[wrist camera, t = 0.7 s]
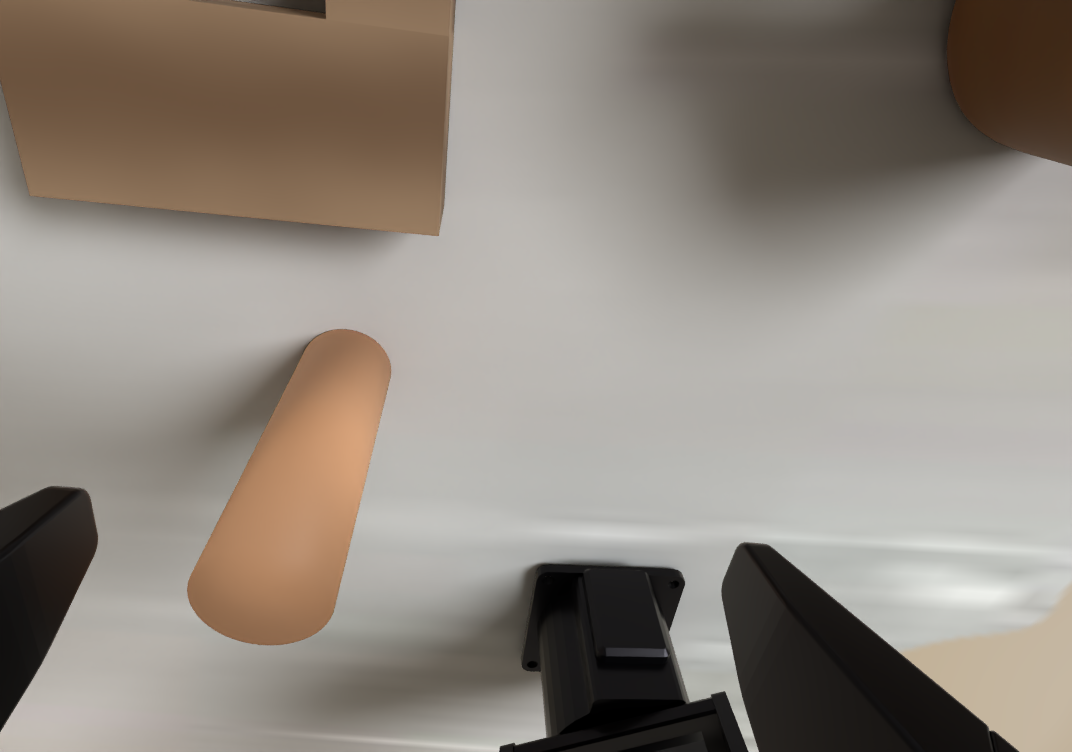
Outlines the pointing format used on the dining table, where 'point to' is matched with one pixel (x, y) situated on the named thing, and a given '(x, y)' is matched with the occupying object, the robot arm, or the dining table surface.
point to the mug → (1015, 72)
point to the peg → (296, 499)
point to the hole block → (235, 106)
